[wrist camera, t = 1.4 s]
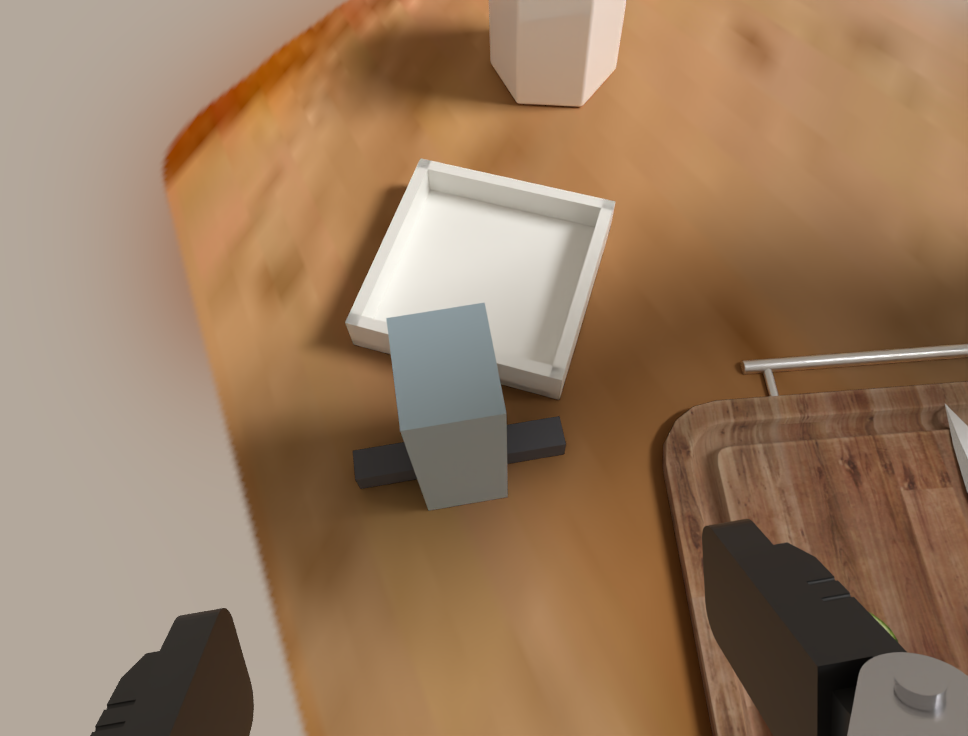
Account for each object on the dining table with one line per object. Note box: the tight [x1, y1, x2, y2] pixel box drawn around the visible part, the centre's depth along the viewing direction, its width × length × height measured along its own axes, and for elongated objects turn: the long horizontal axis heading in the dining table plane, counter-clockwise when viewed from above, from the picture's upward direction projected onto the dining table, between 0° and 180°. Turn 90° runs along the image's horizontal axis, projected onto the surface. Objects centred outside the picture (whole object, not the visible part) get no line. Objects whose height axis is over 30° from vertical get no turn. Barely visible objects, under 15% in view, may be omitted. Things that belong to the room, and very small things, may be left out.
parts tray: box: [345, 159, 615, 400], centre depth 44 cm, size 12×12×2 cm
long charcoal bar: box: [353, 416, 566, 489], centre depth 39 cm, size 11×2×2 cm, turn 99°
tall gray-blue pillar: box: [386, 303, 508, 511], centre depth 35 cm, size 4×5×11 cm
